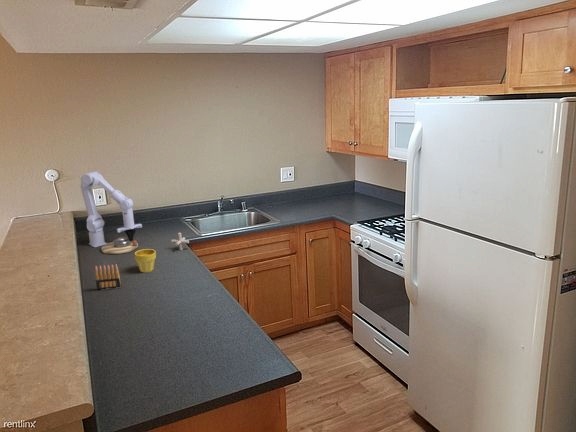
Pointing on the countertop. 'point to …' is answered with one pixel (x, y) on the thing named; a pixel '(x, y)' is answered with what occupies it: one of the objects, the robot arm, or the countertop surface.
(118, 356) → the countertop surface
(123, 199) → the robot arm
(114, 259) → the countertop surface
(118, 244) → the cover
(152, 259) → the plant pot
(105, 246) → the beige round shallow disc
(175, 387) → the countertop surface
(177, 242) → the pipe connector
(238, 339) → the countertop surface
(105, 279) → the ammunition clip
